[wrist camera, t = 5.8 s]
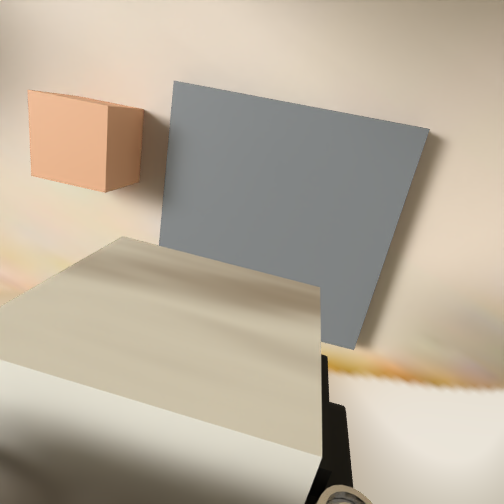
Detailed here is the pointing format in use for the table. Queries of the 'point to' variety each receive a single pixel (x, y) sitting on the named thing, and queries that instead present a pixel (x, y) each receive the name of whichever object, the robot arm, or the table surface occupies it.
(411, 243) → the table surface
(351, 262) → the base board
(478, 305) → the table surface
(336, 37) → the table surface
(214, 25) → the table surface
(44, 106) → the terracotta block
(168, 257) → the cream block
